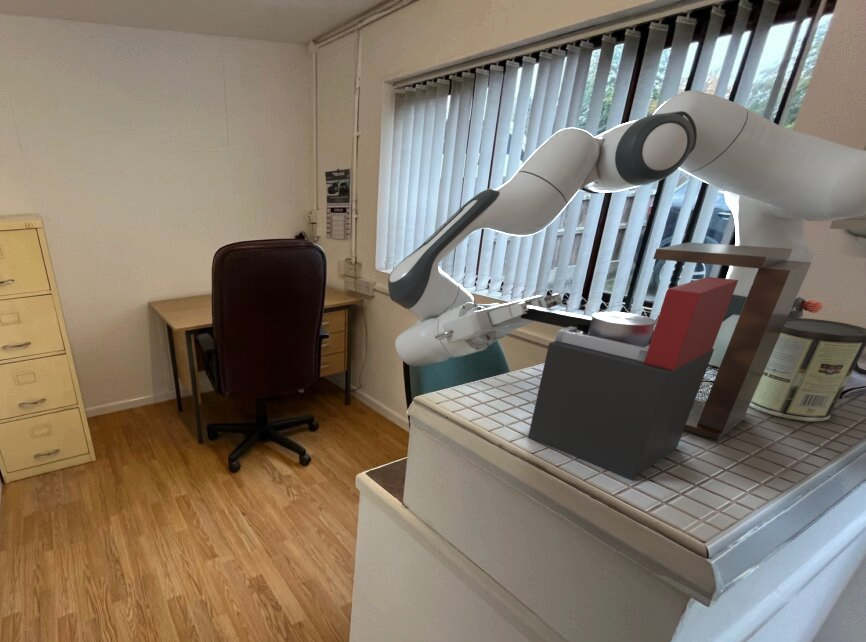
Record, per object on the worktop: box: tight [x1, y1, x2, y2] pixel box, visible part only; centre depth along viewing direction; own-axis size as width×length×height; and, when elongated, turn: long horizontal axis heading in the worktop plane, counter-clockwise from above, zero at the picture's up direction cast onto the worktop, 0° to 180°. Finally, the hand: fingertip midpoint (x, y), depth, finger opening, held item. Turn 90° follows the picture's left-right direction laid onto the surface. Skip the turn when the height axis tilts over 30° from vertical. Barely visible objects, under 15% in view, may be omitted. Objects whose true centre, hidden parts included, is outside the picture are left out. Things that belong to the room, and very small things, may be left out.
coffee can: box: [749, 317, 866, 423], centre depth 73 cm, size 10×10×14 cm
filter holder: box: [521, 305, 656, 347], centre depth 66 cm, size 17×7×4 cm, turn 33°
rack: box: [652, 242, 811, 441], centre depth 71 cm, size 14×12×26 cm
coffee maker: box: [527, 276, 738, 481], centre depth 63 cm, size 14×14×24 cm
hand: (542, 302), depth 70 cm, fingers open, 8 cm apart
